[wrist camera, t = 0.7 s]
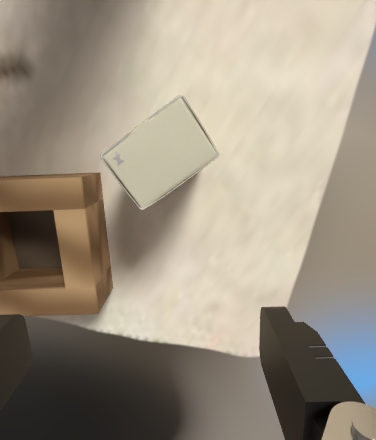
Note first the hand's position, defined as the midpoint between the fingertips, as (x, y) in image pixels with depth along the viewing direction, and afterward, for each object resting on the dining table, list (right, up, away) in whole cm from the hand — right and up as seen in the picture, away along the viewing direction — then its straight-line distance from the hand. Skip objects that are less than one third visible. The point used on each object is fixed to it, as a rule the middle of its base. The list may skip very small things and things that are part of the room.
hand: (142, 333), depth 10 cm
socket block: (-14, +2, +21) cm, 25 cm away
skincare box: (0, +11, +19) cm, 22 cm away
